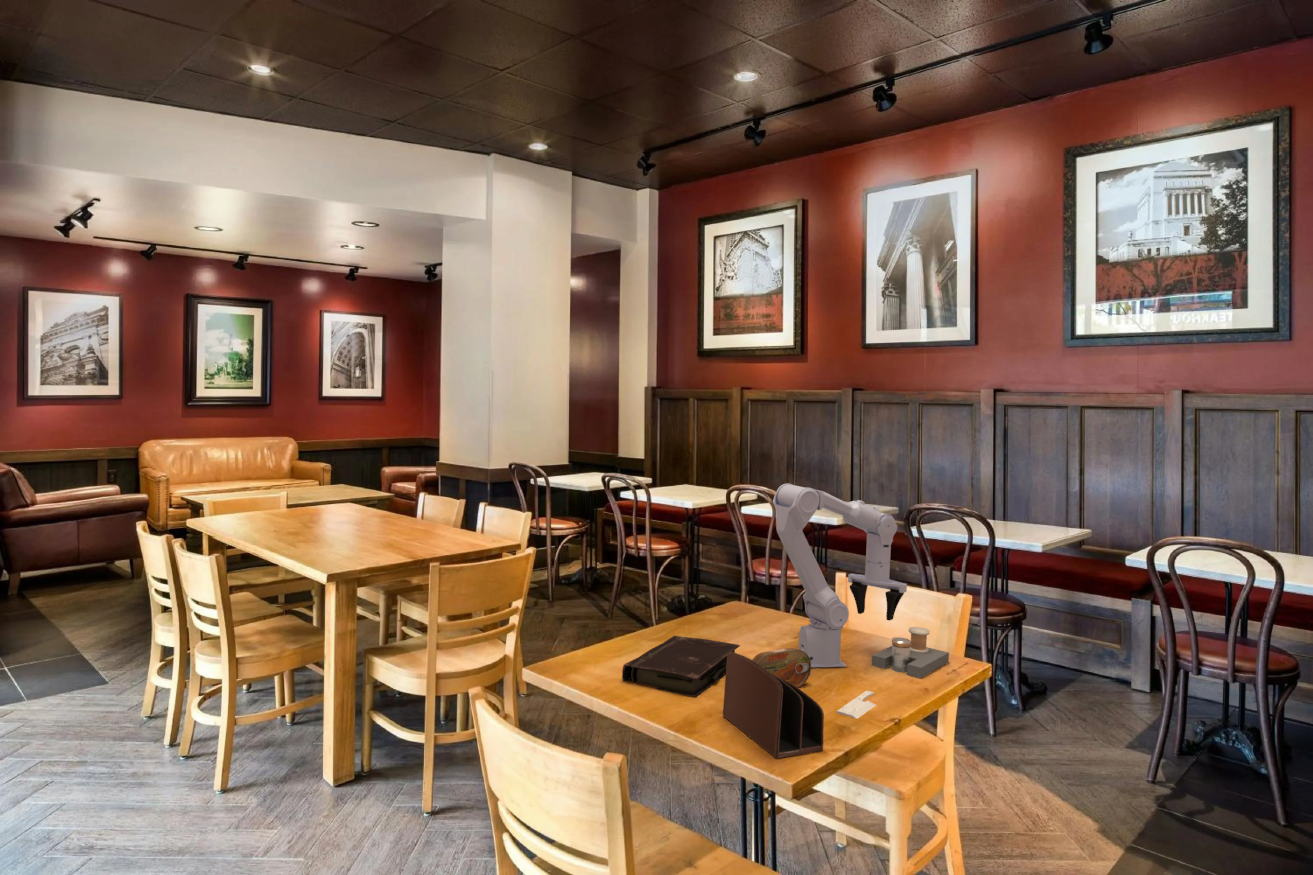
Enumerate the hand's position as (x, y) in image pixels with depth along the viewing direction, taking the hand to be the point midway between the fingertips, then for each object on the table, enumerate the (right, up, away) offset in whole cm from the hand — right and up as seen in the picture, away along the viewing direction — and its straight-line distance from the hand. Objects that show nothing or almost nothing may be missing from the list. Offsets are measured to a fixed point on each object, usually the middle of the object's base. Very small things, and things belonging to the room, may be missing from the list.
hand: (875, 616), depth 198 cm
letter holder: (-32, -12, -47) cm, 58 cm away
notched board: (+7, -10, -5) cm, 13 cm away
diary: (-47, -10, -16) cm, 51 cm away
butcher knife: (-11, -12, -32) cm, 36 cm away
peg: (+3, -11, -9) cm, 14 cm away
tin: (-27, -11, -24) cm, 37 cm away
